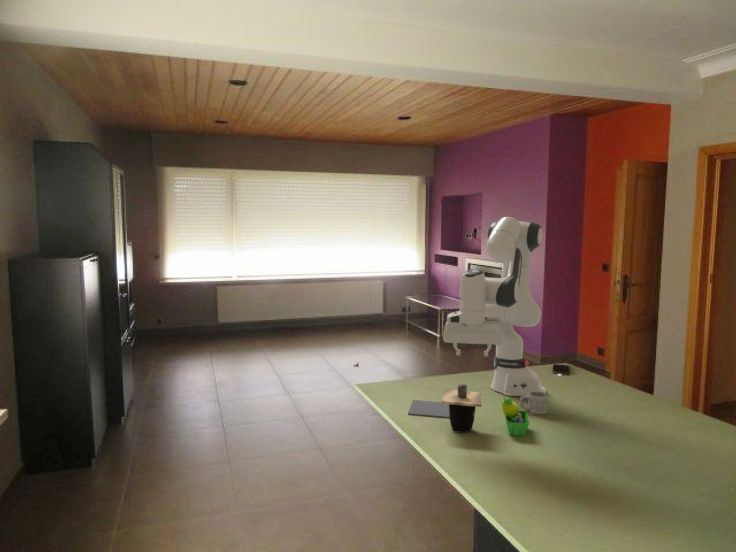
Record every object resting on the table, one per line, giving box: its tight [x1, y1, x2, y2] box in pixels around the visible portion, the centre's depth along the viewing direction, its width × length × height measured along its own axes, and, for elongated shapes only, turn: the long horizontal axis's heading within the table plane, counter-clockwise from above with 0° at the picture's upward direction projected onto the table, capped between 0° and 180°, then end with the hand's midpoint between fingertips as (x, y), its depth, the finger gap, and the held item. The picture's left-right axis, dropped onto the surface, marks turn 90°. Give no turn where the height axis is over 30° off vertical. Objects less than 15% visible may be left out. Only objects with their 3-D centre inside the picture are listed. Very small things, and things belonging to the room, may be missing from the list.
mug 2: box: [519, 392, 548, 415], centre depth 198 cm, size 10×7×7 cm, turn 84°
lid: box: [441, 383, 482, 408], centre depth 180 cm, size 13×13×5 cm
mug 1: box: [449, 404, 476, 433], centre depth 181 cm, size 12×9×10 cm
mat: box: [407, 399, 450, 419], centre depth 198 cm, size 15×15×1 cm
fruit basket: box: [501, 397, 530, 437], centre depth 179 cm, size 11×9×11 cm
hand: (472, 355), depth 183 cm, fingers open, 8 cm apart
